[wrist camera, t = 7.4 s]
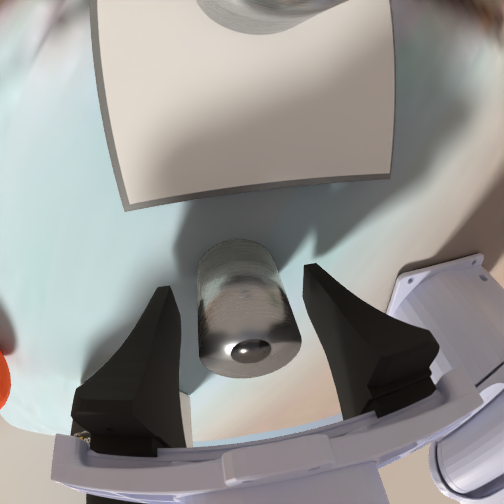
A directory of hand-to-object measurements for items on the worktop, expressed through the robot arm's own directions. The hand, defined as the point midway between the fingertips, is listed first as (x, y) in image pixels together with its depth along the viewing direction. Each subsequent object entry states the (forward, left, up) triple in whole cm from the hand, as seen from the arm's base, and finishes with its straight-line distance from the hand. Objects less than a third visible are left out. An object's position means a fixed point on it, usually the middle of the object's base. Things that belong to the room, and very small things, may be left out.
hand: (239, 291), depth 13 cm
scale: (-1, -12, -1) cm, 12 cm away
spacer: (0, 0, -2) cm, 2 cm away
